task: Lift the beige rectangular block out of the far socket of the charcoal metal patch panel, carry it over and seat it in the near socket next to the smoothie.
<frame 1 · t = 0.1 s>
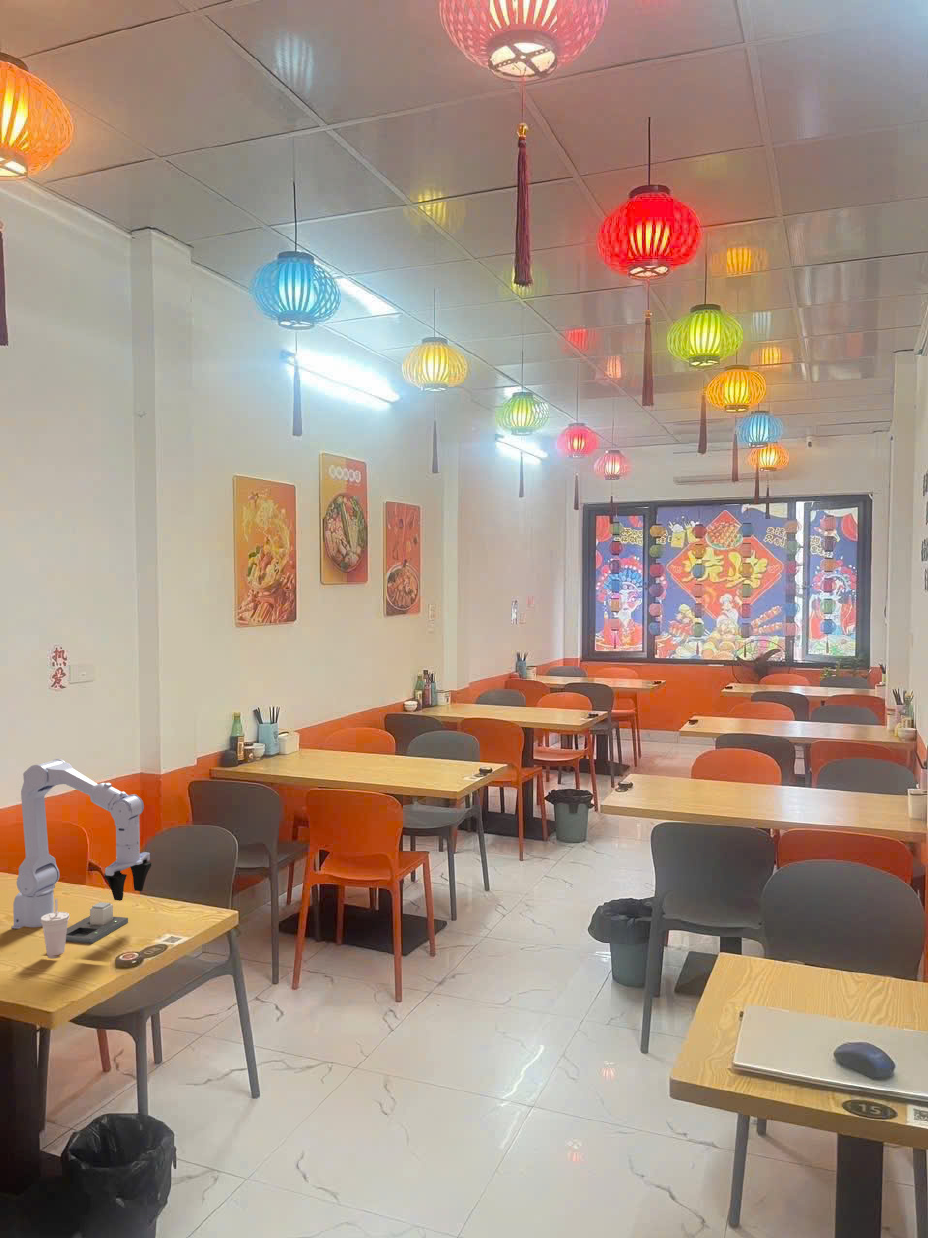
hand: (128, 895, 227), 10 cm above the table, fingers open, 7 cm apart
beige rectangular block: (101, 925, 231), point 1 cm above the table, touching panel
smoothie: (55, 956, 213), on the table
panel: (91, 934, 227), on the table
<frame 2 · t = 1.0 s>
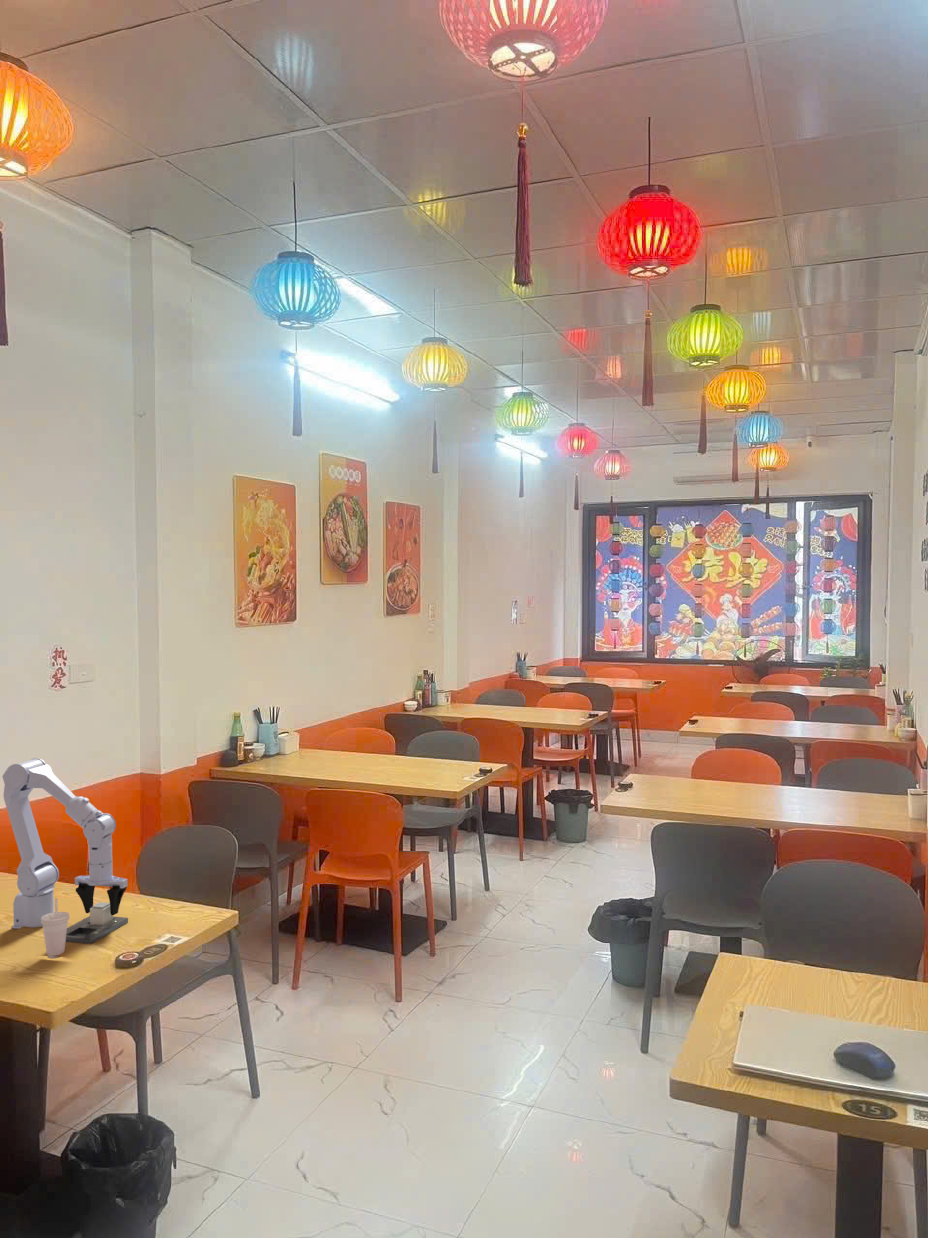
hand: (101, 913, 231), 4 cm above the table, fingers open, 7 cm apart
nothing on the table moved.
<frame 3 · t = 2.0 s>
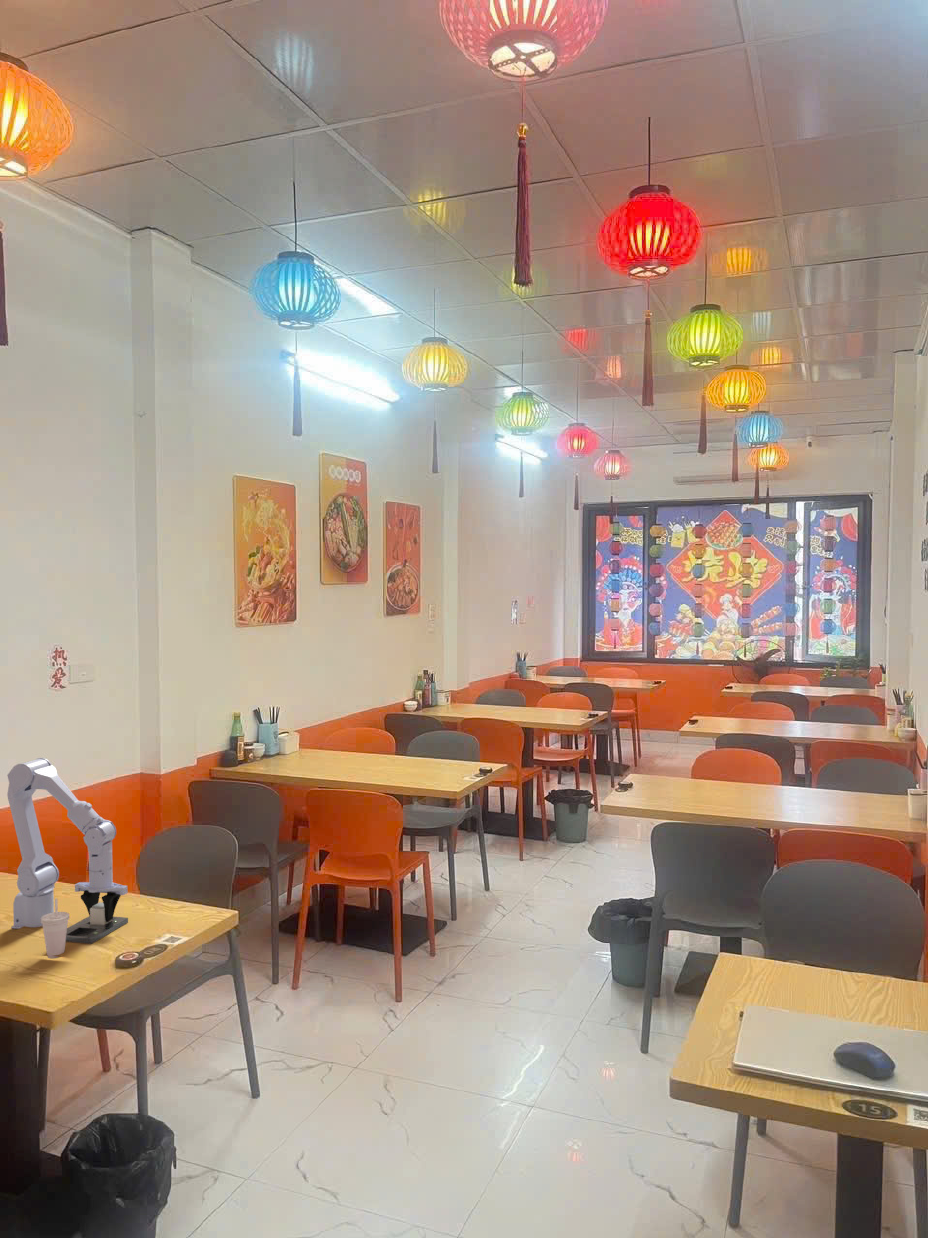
hand: (101, 919, 231), 2 cm above the table, fingers closed on beige rectangular block, 4 cm apart
beige rectangular block: (101, 925, 231), point 1 cm above the table, touching gripper, panel
everything else where it was.
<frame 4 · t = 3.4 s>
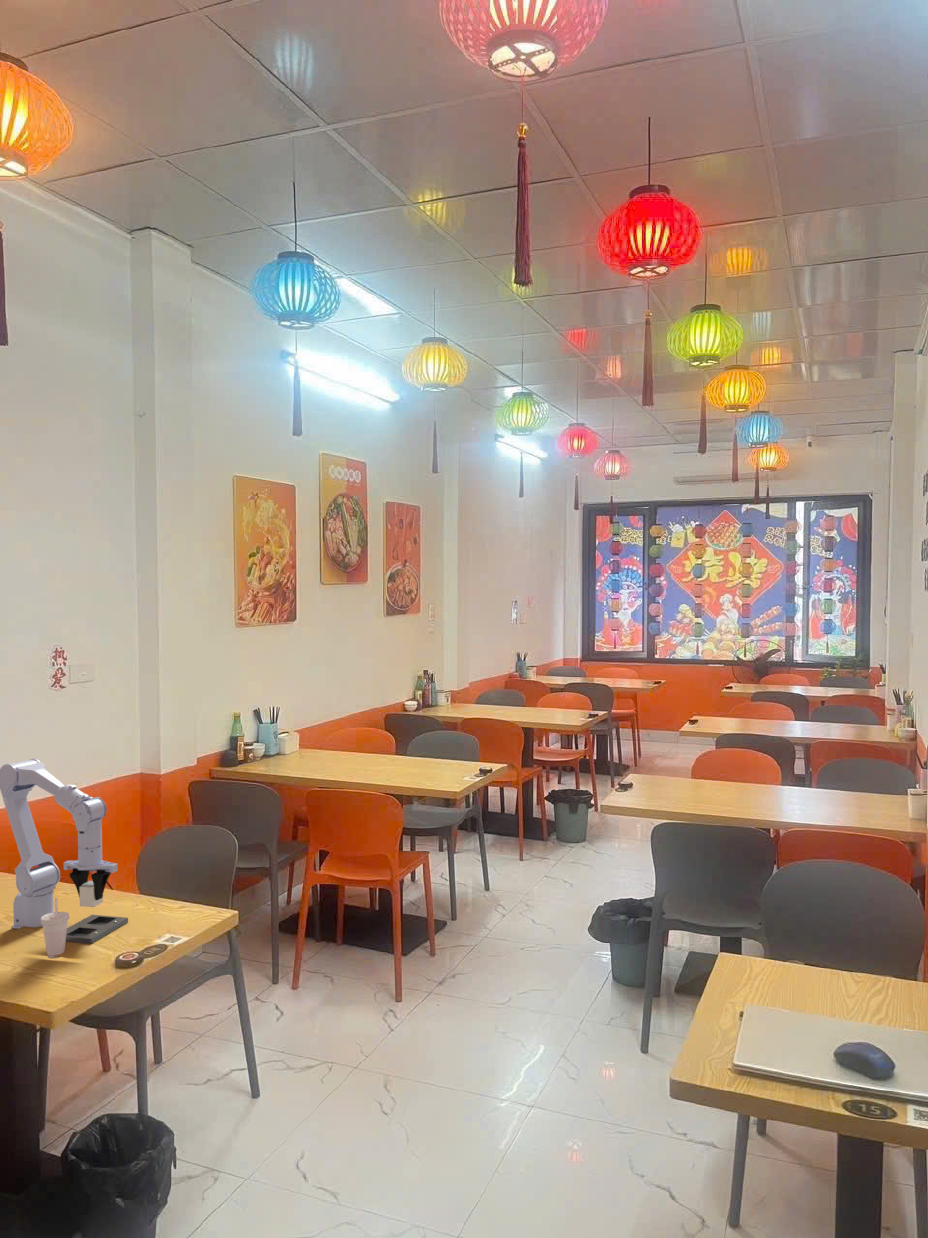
hand: (91, 898, 226), 9 cm above the table, fingers closed on beige rectangular block, 4 cm apart
beige rectangular block: (91, 904, 227), point 8 cm above the table, touching gripper
everything else where it was.
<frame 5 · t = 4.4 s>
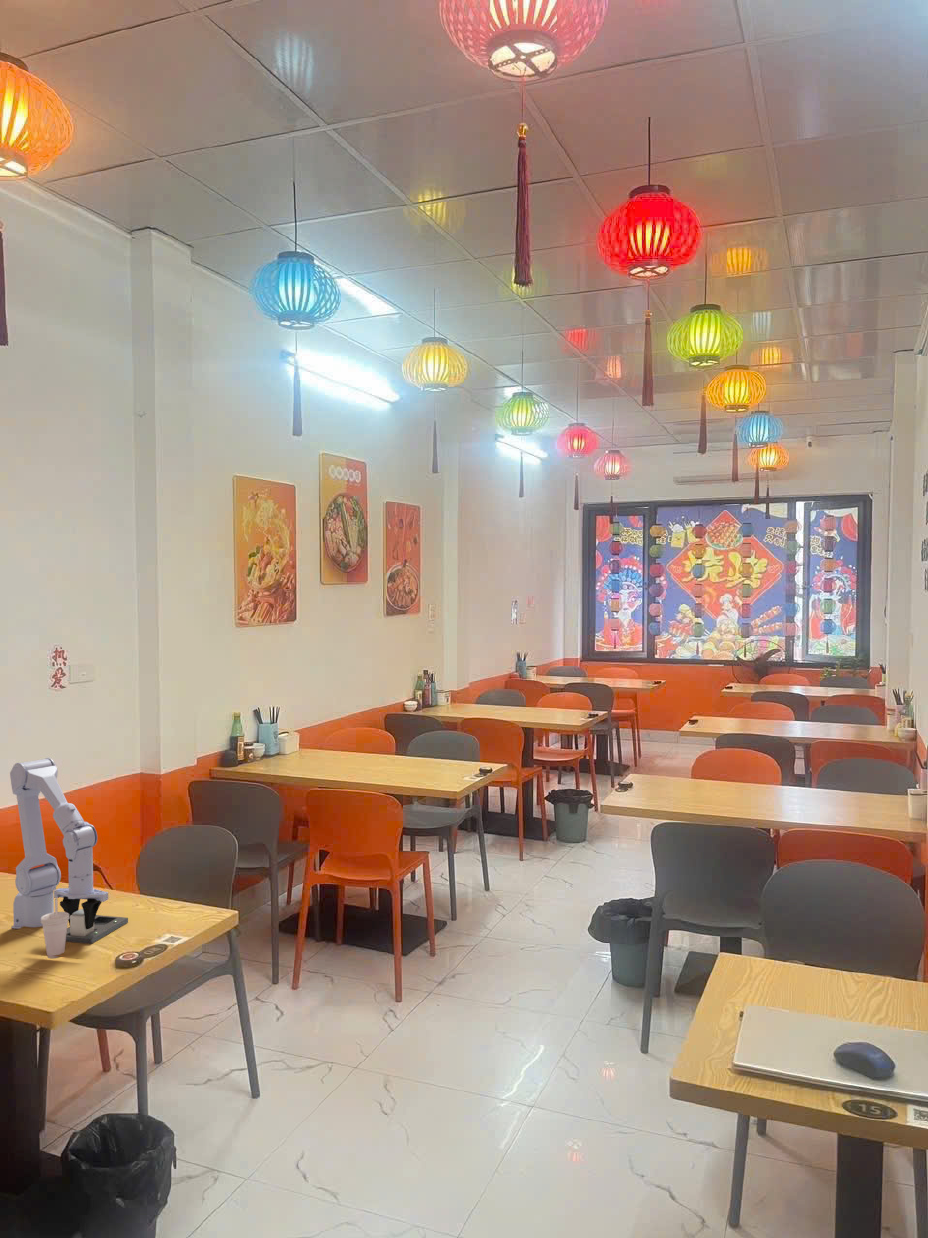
hand: (81, 927, 223), 3 cm above the table, fingers closed on beige rectangular block, 4 cm apart
beige rectangular block: (82, 933, 223), point 2 cm above the table, touching gripper
everything else where it was.
when the fingers open (3 cm above the table, at t = 4.9 s): beige rectangular block stays where it is, resting on panel.
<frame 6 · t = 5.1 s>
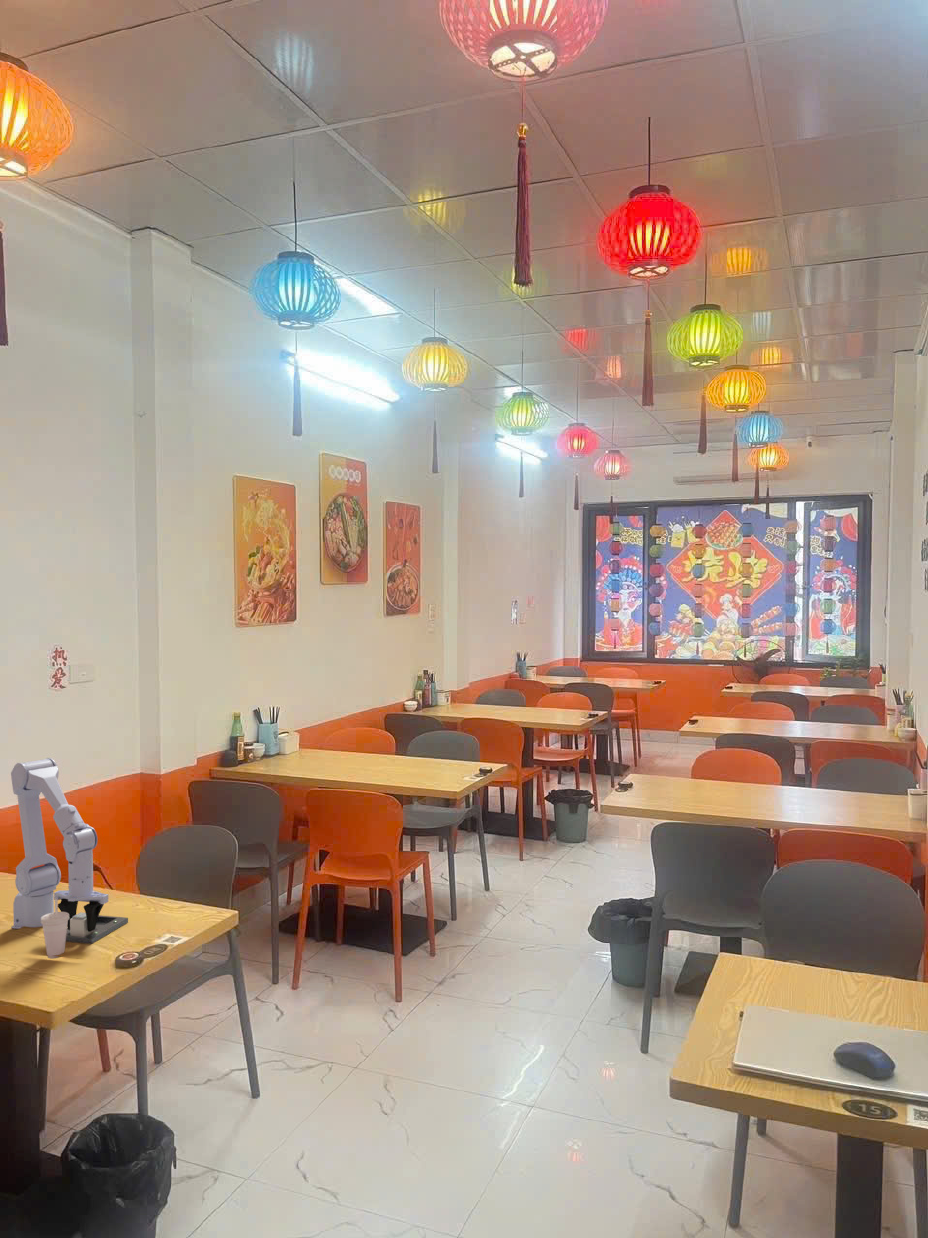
hand: (81, 929, 223), 3 cm above the table, fingers open, 5 cm apart
beige rectangular block: (82, 936, 223), point 1 cm above the table, touching panel
everything else where it was.
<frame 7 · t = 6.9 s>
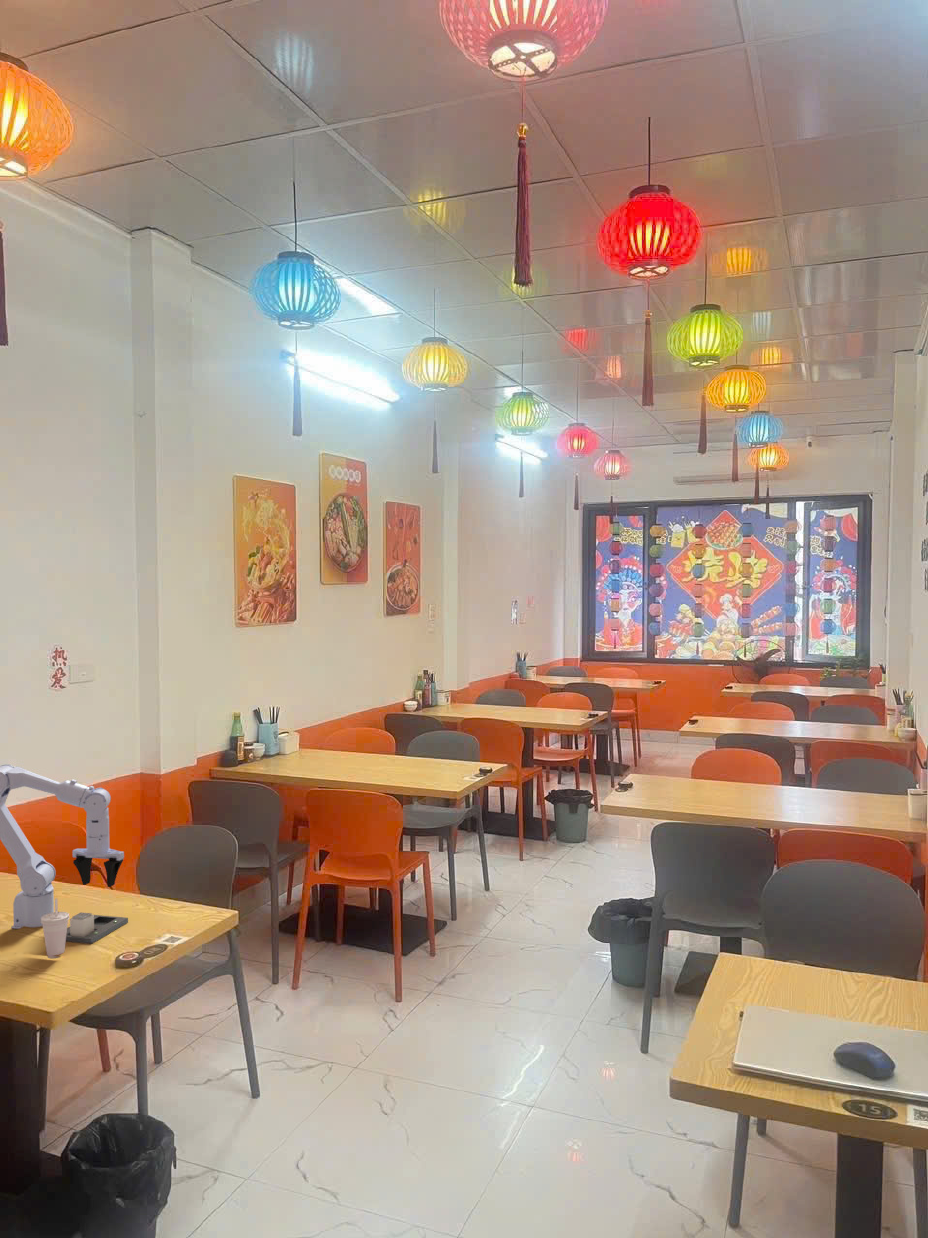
hand: (98, 884, 236), 10 cm above the table, fingers open, 7 cm apart
nothing on the table moved.
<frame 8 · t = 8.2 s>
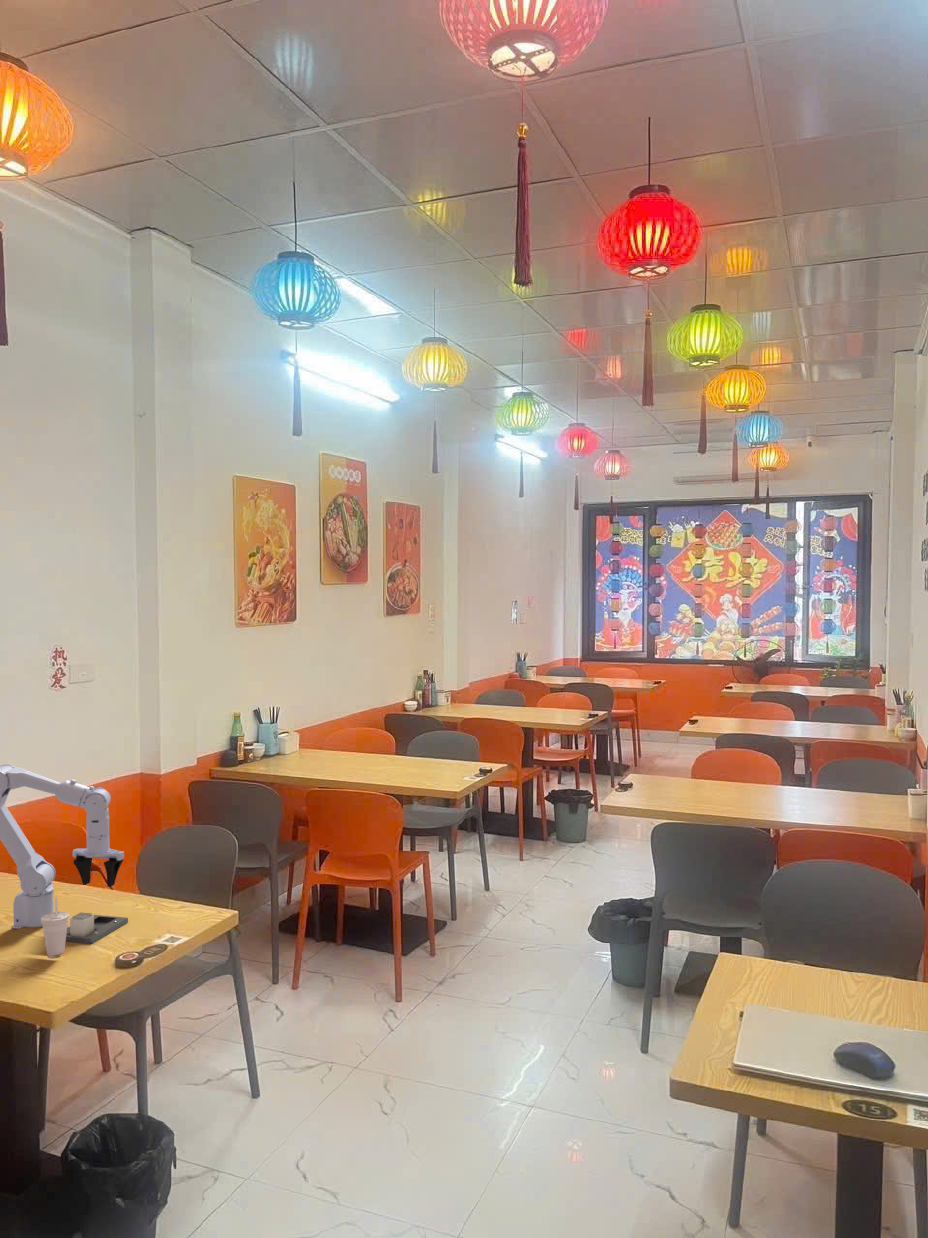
hand: (98, 884, 236), 10 cm above the table, fingers open, 7 cm apart
nothing on the table moved.
at the end: beige rectangular block 0.2 cm from the target spot on the panel, point 0.8 cm above the panel's base; beige rectangular block tilted 0°; the gripper is holding nothing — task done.
